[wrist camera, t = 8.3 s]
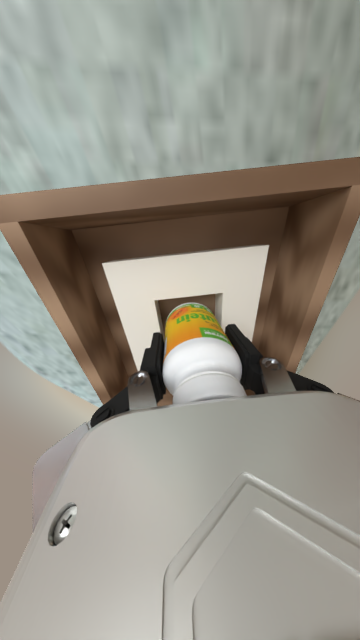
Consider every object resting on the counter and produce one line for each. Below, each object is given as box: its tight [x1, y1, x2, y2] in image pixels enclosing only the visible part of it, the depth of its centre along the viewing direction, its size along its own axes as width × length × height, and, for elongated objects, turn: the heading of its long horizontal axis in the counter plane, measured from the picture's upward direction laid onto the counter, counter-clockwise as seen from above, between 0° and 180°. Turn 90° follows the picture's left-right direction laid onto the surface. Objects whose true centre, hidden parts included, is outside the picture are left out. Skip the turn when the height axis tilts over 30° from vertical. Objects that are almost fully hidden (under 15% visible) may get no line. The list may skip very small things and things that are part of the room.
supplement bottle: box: [162, 302, 247, 404], centre depth 11 cm, size 5×5×10 cm
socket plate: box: [102, 245, 269, 371], centre depth 16 cm, size 14×14×2 cm
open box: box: [0, 157, 360, 406], centre depth 15 cm, size 22×22×6 cm
